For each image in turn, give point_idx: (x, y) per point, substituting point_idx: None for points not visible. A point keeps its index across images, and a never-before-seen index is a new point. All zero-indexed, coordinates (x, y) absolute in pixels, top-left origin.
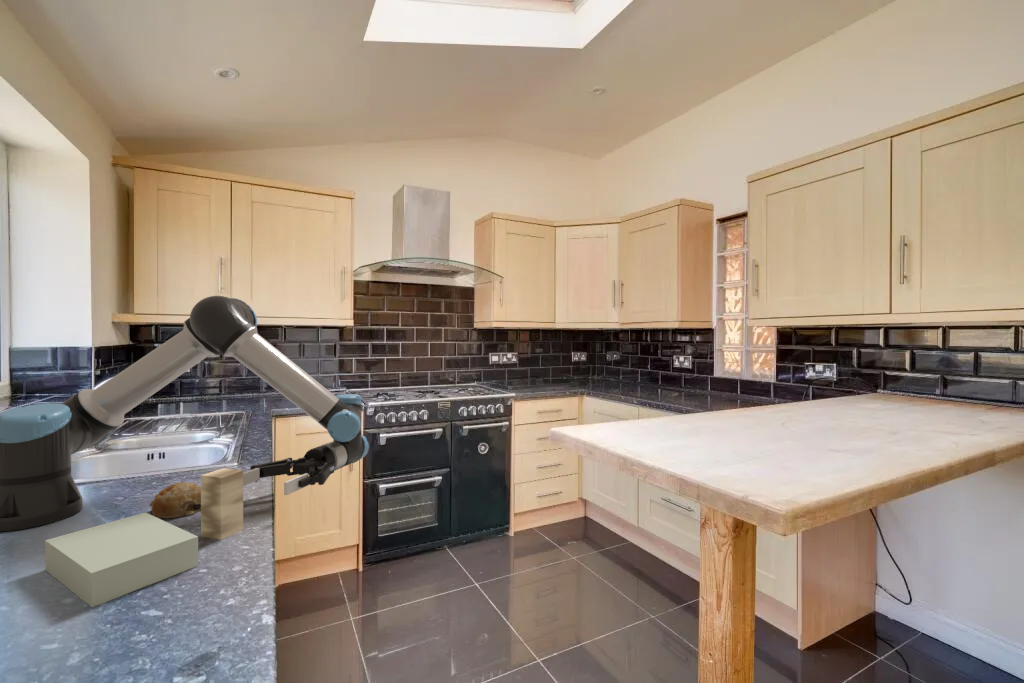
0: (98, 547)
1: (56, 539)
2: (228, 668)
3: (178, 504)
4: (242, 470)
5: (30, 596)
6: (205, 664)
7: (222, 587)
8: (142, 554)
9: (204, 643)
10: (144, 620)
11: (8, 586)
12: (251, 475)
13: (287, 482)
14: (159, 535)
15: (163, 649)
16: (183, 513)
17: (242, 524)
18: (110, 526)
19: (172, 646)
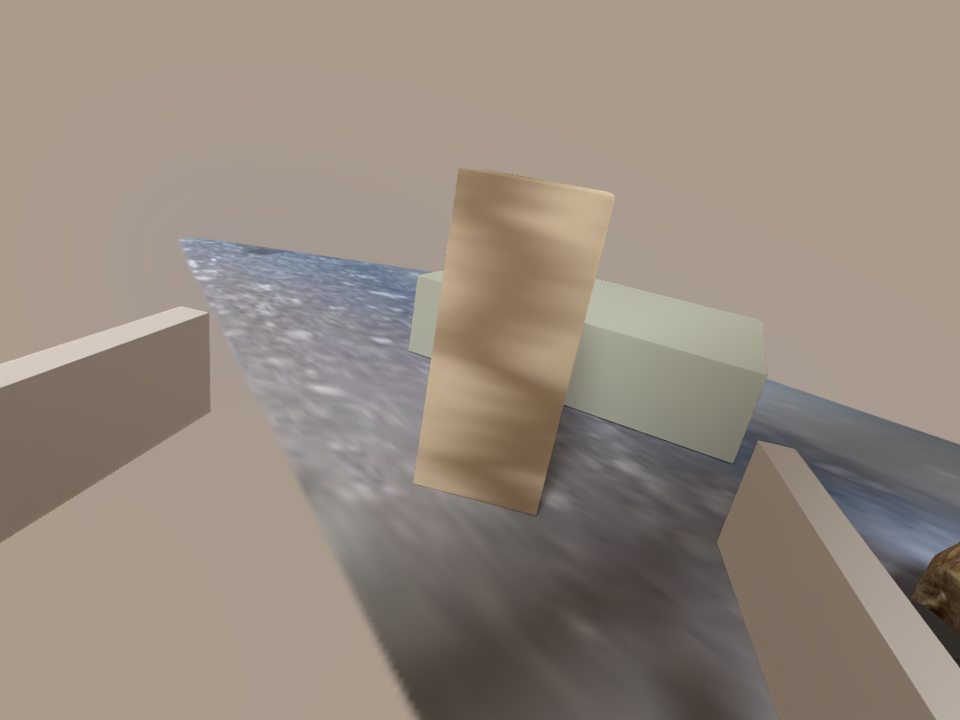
0: (603, 290)
1: (743, 318)
2: (223, 243)
3: (942, 559)
4: (459, 168)
5: None
6: (254, 249)
7: (301, 305)
8: None
9: (270, 260)
10: (386, 289)
11: None
12: (823, 637)
13: (176, 309)
14: None
15: (319, 264)
16: None
17: (417, 457)
18: (721, 334)
19: (311, 264)
